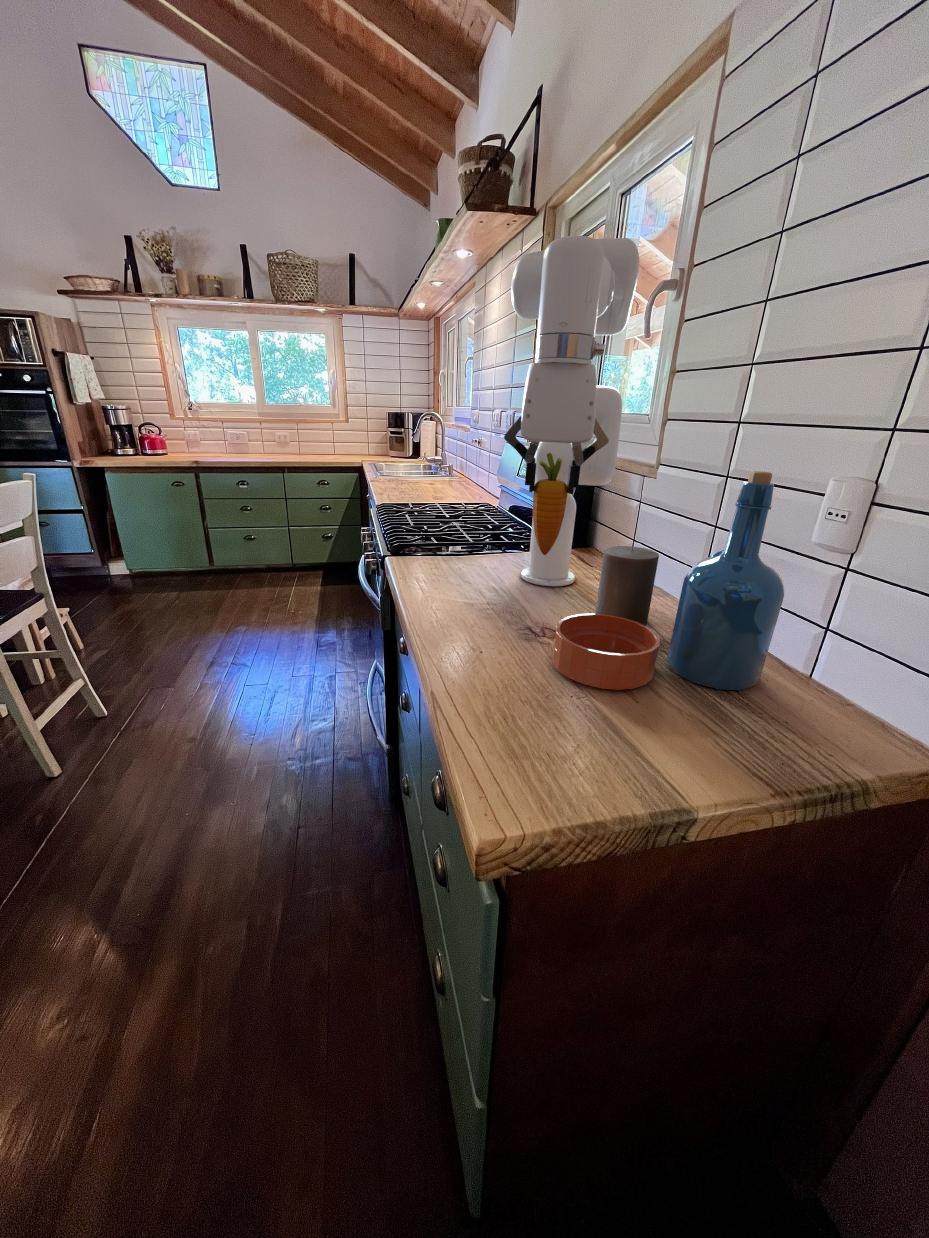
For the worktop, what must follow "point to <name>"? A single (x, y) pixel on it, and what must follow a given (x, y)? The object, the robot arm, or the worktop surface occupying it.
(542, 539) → the carrot
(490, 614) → the worktop surface
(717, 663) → the wine bottle
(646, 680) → the bowl
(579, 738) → the worktop surface
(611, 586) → the pillar candle
